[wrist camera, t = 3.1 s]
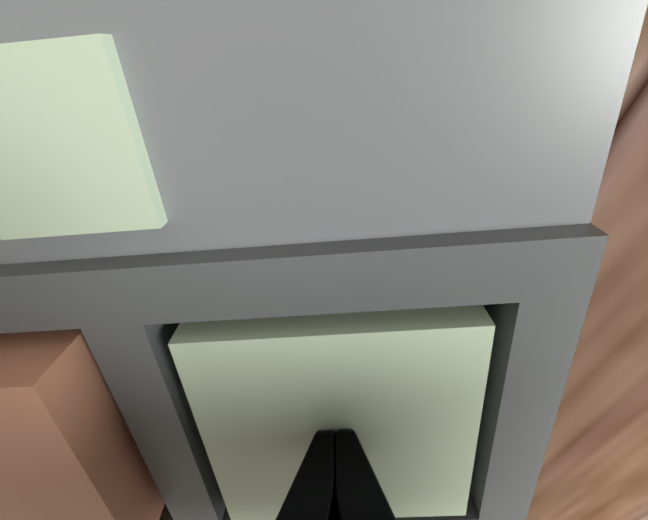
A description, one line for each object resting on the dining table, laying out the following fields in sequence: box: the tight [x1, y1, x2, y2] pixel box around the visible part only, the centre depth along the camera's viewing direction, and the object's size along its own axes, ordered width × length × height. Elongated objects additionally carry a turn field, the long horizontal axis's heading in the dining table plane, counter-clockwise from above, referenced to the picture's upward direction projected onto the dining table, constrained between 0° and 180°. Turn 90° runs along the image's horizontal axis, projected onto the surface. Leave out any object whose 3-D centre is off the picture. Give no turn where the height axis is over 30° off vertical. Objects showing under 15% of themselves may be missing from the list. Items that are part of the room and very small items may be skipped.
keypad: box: [0, 0, 648, 520], centre depth 10 cm, size 13×25×4 cm, turn 95°
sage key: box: [168, 305, 495, 520], centre depth 9 cm, size 6×6×2 cm
